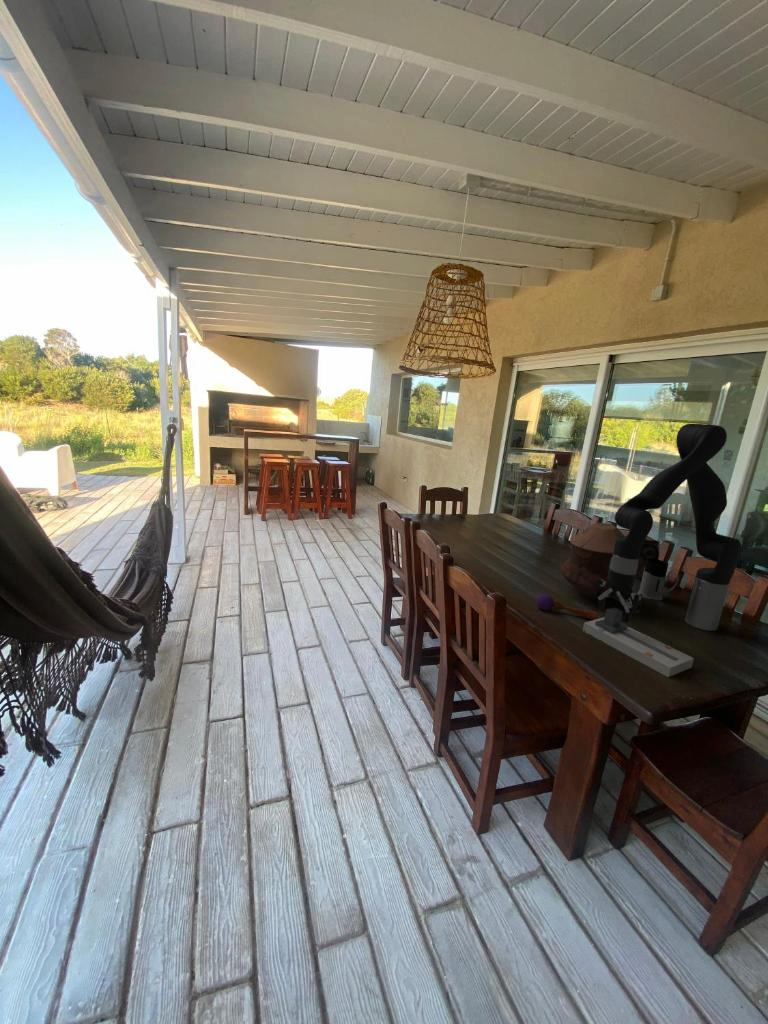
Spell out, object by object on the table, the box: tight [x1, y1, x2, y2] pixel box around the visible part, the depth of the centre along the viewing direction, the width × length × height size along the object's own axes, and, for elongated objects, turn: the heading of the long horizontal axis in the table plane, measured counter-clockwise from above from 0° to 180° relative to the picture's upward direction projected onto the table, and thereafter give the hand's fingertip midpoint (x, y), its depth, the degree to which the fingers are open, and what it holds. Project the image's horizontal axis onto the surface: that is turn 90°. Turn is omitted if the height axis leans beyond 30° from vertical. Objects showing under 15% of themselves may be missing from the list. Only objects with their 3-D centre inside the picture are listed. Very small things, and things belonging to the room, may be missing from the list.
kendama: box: [535, 593, 598, 621], centre depth 147 cm, size 6×6×20 cm
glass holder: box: [637, 559, 680, 601], centre depth 164 cm, size 9×14×15 cm, turn 15°
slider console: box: [582, 616, 694, 678], centre depth 126 cm, size 12×27×3 cm, turn 27°
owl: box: [635, 536, 660, 582], centre depth 187 cm, size 13×13×20 cm
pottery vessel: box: [560, 522, 625, 600], centre depth 162 cm, size 26×26×30 cm
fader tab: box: [595, 607, 629, 633], centre depth 132 cm, size 8×6×6 cm
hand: (612, 616), depth 132 cm, fingers open, 8 cm apart
